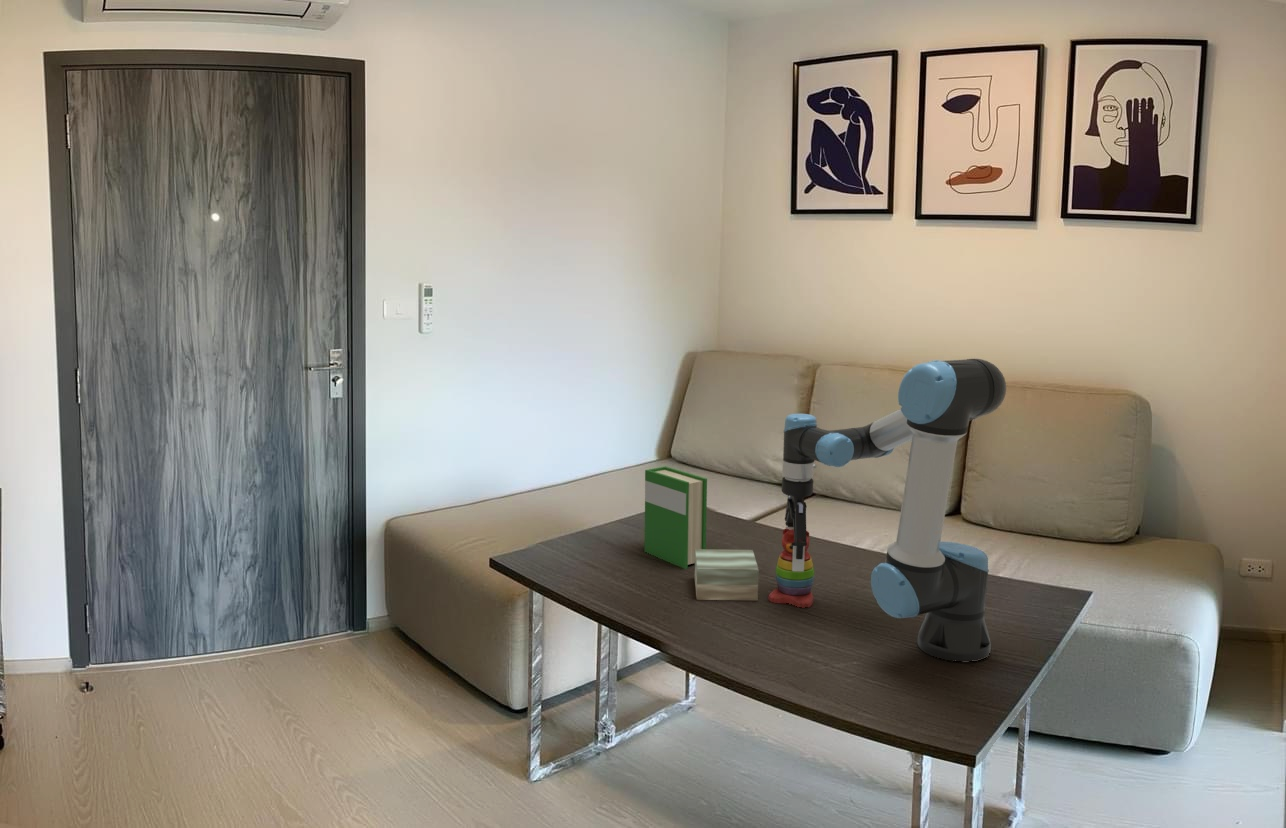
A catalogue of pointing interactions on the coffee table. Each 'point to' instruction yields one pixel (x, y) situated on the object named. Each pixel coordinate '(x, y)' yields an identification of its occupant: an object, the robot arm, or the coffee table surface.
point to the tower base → (726, 592)
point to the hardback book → (675, 515)
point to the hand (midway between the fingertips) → (793, 561)
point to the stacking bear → (793, 576)
